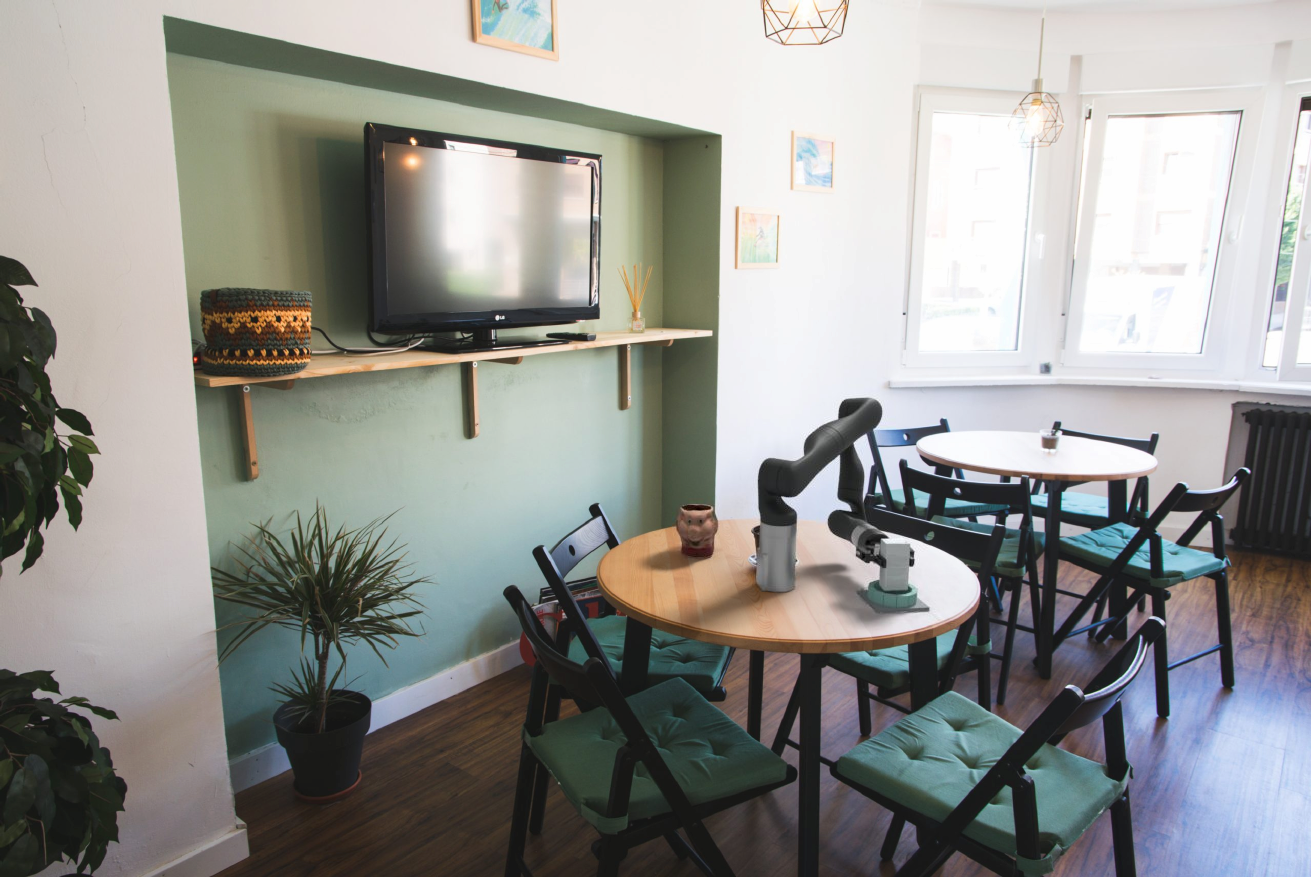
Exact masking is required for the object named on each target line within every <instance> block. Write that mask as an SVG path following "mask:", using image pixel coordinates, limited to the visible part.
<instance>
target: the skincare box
mask: <svg viewBox="0 0 1311 877" xmlns="http://www.w3.org/2000/svg"><path fill="white" fill-rule="evenodd" d="M910 547H911V543H910V542H909V541H908V540H907V539H906V538H904V537H903V538H899V537H898V538H889V539H881V550H880V555H881V556H882V557H884V558H885V559H886V560H887V564H886V568H882V567H881V566H879V575H878V576H879V577H878V580H879V585H880V586H881V588H882V589H883V590H884V591H894V590H908V583H909V572H910V567H909V559H910Z"/></svg>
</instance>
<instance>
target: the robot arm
mask: <svg viewBox="0 0 1311 877" xmlns="http://www.w3.org/2000/svg"><path fill="white" fill-rule="evenodd" d="M837 413H838V415H837V419H834V420H832V421H829V422H826V423H823V424H822V425H820V426H819V427H817V428H816V429H815V430H813V431H812V432H811V433H810V434H809V435H807V437H806V438H805V439H804V442H803V456H802V457H801V458H798V459H797V460H788V459H783V458H777V457H776V458H775V457H768V458H766V459H764V460H763V461H762V462H761V464H760V466H759V470H758V473H757V474H758V475H757V499H758V500H757V501H758V502H757V505H758V506H757V508H758V512H759V515H760V516H759V517H760V519H759V524H760V525H759V526H760V527H759V547H757V549H756V576H755V578H756V581H755V582H756V584H757V586H758V587H759V589H760V590H761V591H768V592H773V593H774V592H775V593H785V592H790V591H792V590H794V589H795V583H796V582H795V581H796V562H797V561H796V560H797V559H796V558H797V555H796V554H797V532H798V530H797V529H798V527H797V526H798V513H797V511H796V510H795V509H794V508H793V507H791V506H790V505H788V504H787V503H786V502H785V501H784V500H783V498H789V499H790V498H795V497H798V496H799V495H800V494H801V493H802V492H803V491H804V490H806V488H807V487H808V486H809V484H810V483H811V482H812V481H813V480H814V478H815V477H816V476H817V475H818V474H819V473H820V472H822V471H823V469H824V468H826V467H827V466H828V465H829V464H830V463H831V462H833V461H835V459H837V458H838V457H839V474H838V486H837V494H836V495H837V499H838V500H839V501H840V502H843V503H845V504H847V505H848V506H849V508H850V510H845V509H835V510H833V511H832V512H830V514H829V515H828V517H827V527H828V530H829V531H830V533H832V535H833V536H834V535H835V536H836V537H838V538H840V539H842V540H845V541H848V542H849V543H851V545H853V546H854V547H855V557H856V558H858V560H861V561H862V562H863V563H865V564H871V562H872V563H873V564H875V565H877V566H879V567H880V566H881V567H882V568H886V564H887V560H886V559H885V558H884V557H882V556H881V555H880V550H881V539H890V538H889V536H888V535H886V534H885V533H884V532H883V531H882V530H880V529H878V528H877V527H876V526H873V525H871V524H870V523H869V522H868V521H867V516H866V510H865V503H864V489H865V469H864V466H863V464H862V460H861V459H860V457H859V455H858V452H857V450H856V448H855V442H857V441H858V440H859V439H861V438H862V437H863V436H865V435H867V434H868V433H870V432H871V431H873V430H874V429H876V428H877V427H878V426H879V424H880V423H881V420H882V417H883V407H882V404H881V402H879V401H878V400H877V399H876V398H872V397H851V398H845V399H843V400H842V401H841V403H840V404H839V407H838V412H837ZM915 552H916V551H915V549H913V548H912V547H911V546H910V559H909V568H913V567H914V566H915V563H916V562H915V561H916V559H915Z"/></svg>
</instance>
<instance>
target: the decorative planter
mask: <svg viewBox="0 0 1311 877" xmlns="http://www.w3.org/2000/svg"><path fill="white" fill-rule="evenodd" d="M714 509H715V508H714V507H713V506H711V505H708V504H703V503H701V504H700V503H698V504H696V503H689V504H684V505H680V508H679V510H678V511H679V514H678V516H677V519H676V526H675V527H676V528H675V529H676V532H677V534H678V535H679V537H680V542H681V548H680V549H681V550H680V551H681V552H680V553H681V555H682V556H685V557H686V558H693V559H694V558H695V559H705V558H706V559H707V558H710V557H712V556H713V555H714V552H715V537H716V534H717V533H718V530H719V520H718V517H717V515H716V513H715V510H714Z"/></svg>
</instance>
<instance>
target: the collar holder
mask: <svg viewBox="0 0 1311 877" xmlns="http://www.w3.org/2000/svg"><path fill="white" fill-rule="evenodd" d="M918 590H919V589H918V588H917V587H916V586H915V585H914V584H911V583H909V582H908V590H894V591H884V590H883V589H882V588H881V586H880V585H879V579H876V580H873V581H869V583H868V585H867V589H859V590H858V589H857V590H856V591H855V592H856V595H857V596H859V598H861V600H863V601H864V602H865V603H866V604H867V605H868V606H869V607H870V608H871V609H872V610H873V611H875V613H877V614H889V613H890V614H891V613H892V614H893V613H907V612H908V613H909V612H926V611H927V612H928V611H930V609H931V608H930V606H929V605H927V603H925V602H924V601H922V600H921V599H920V598H919V597H918Z"/></svg>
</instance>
